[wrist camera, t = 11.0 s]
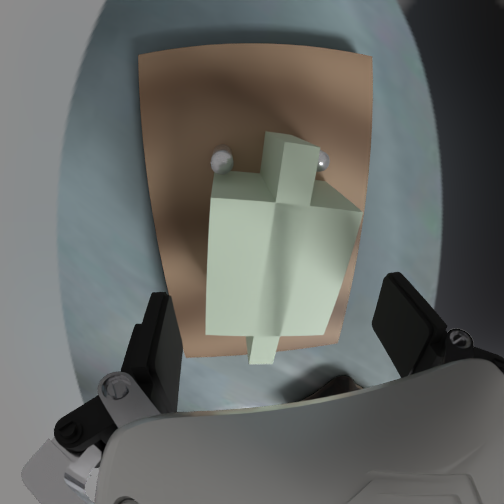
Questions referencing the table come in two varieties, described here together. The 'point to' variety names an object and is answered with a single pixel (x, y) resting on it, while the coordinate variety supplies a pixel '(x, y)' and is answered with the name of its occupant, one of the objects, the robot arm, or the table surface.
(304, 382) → the table surface
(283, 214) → the green grooved block
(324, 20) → the table surface
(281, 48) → the pin plate
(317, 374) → the table surface
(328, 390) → the black sponge
